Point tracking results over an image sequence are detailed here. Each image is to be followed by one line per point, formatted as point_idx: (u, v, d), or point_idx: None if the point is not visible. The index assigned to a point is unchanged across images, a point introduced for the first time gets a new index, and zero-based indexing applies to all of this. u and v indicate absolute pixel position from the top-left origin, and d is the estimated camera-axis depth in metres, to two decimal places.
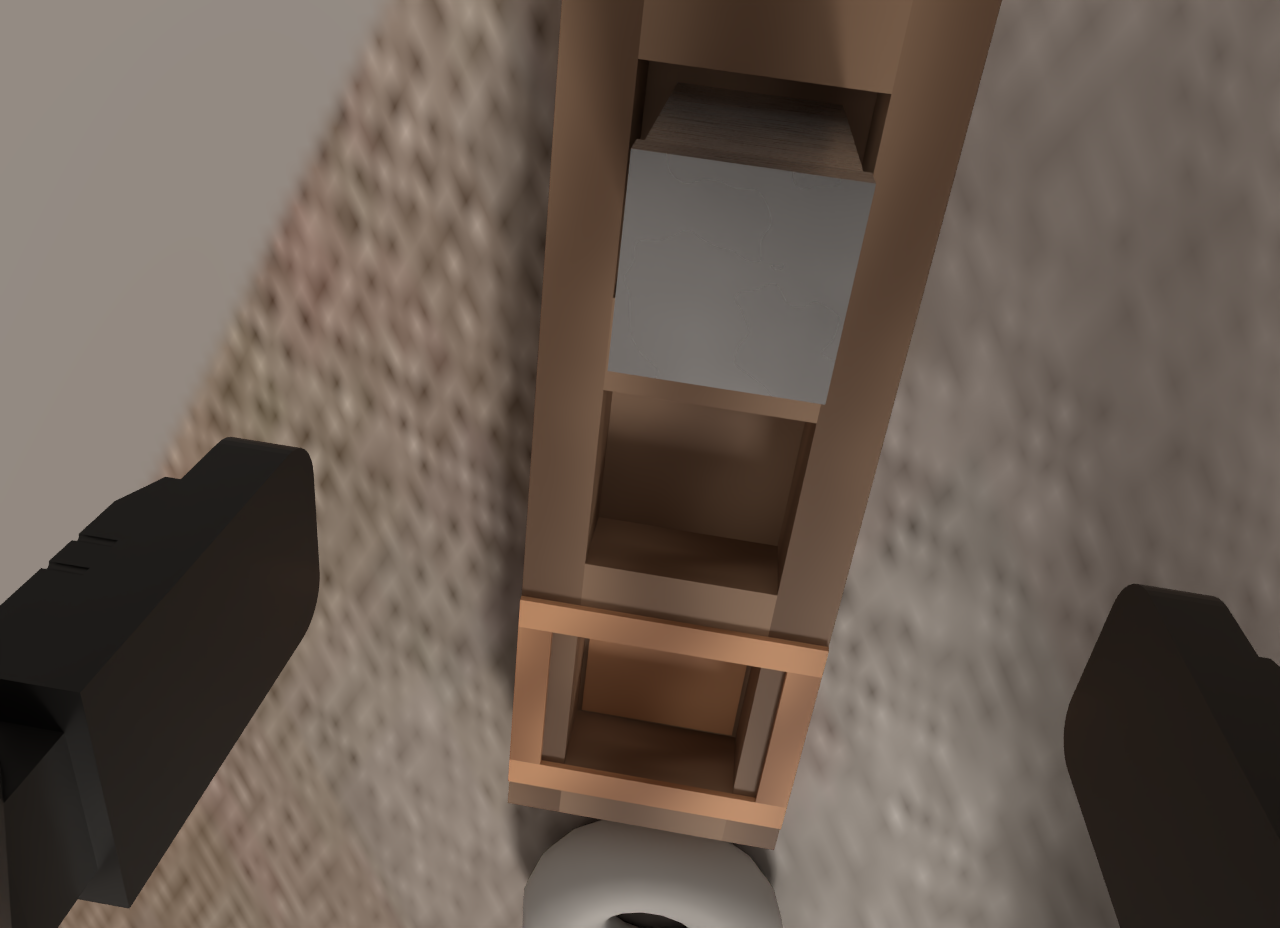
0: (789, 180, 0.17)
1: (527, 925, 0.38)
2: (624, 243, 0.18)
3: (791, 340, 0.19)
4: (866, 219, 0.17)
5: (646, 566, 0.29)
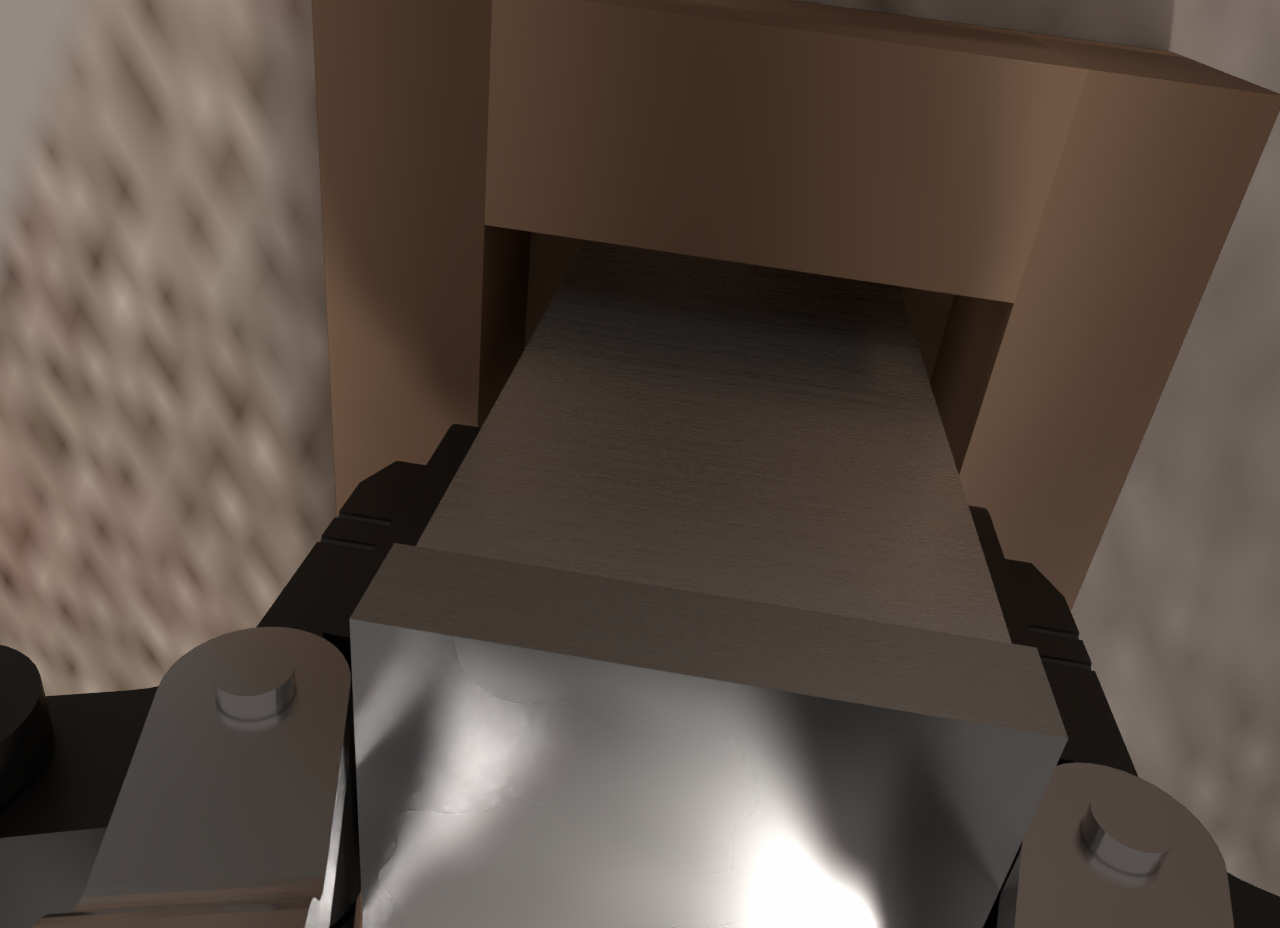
0: (811, 716, 0.06)
1: None
2: (367, 811, 0.07)
3: None
4: (1031, 813, 0.06)
5: None
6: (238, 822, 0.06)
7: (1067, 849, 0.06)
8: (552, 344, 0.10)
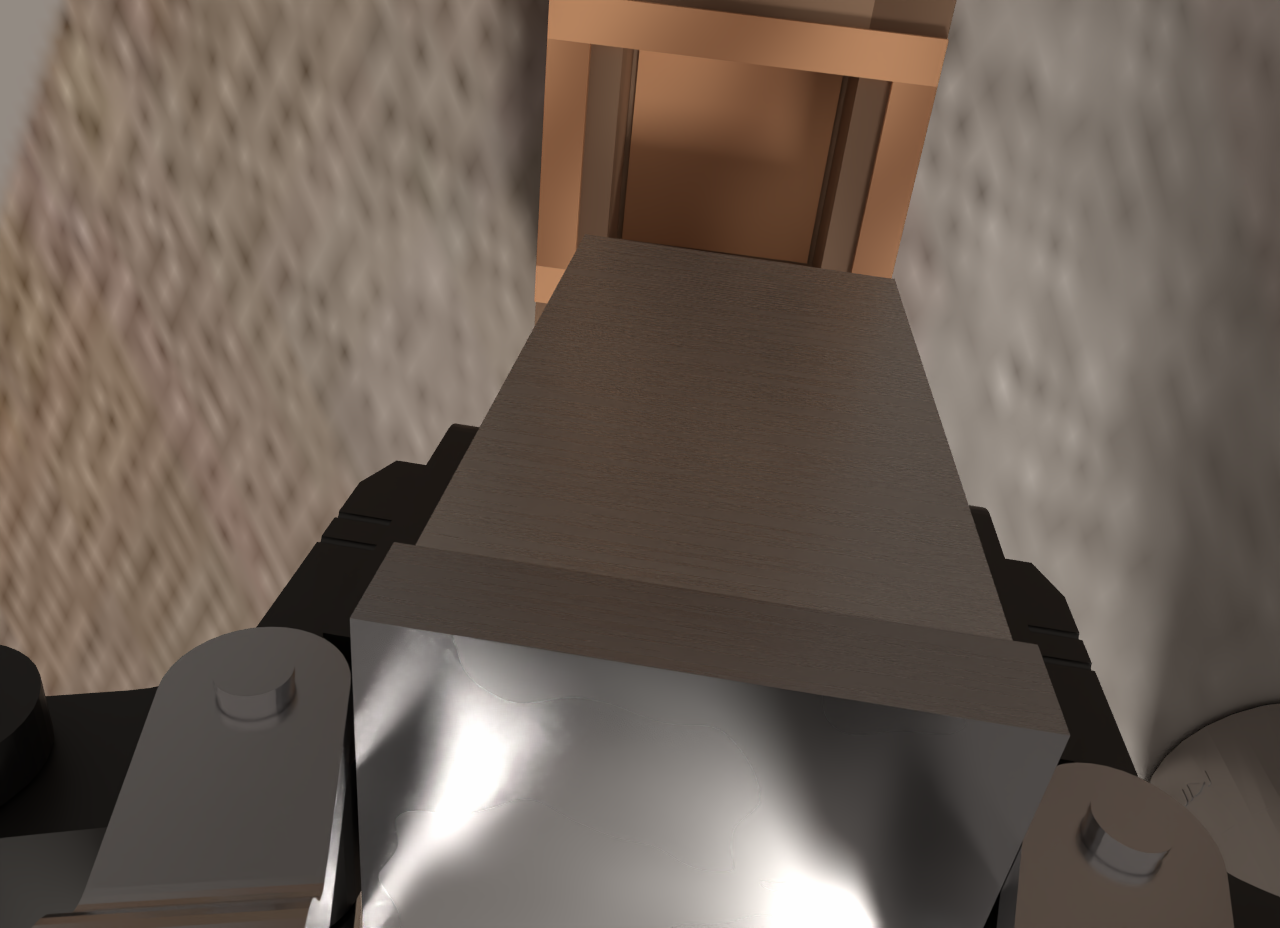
0: (813, 714, 0.06)
1: None
2: (367, 812, 0.07)
3: None
4: (1033, 810, 0.06)
5: None
6: (239, 821, 0.06)
7: (1066, 849, 0.06)
8: (550, 343, 0.10)
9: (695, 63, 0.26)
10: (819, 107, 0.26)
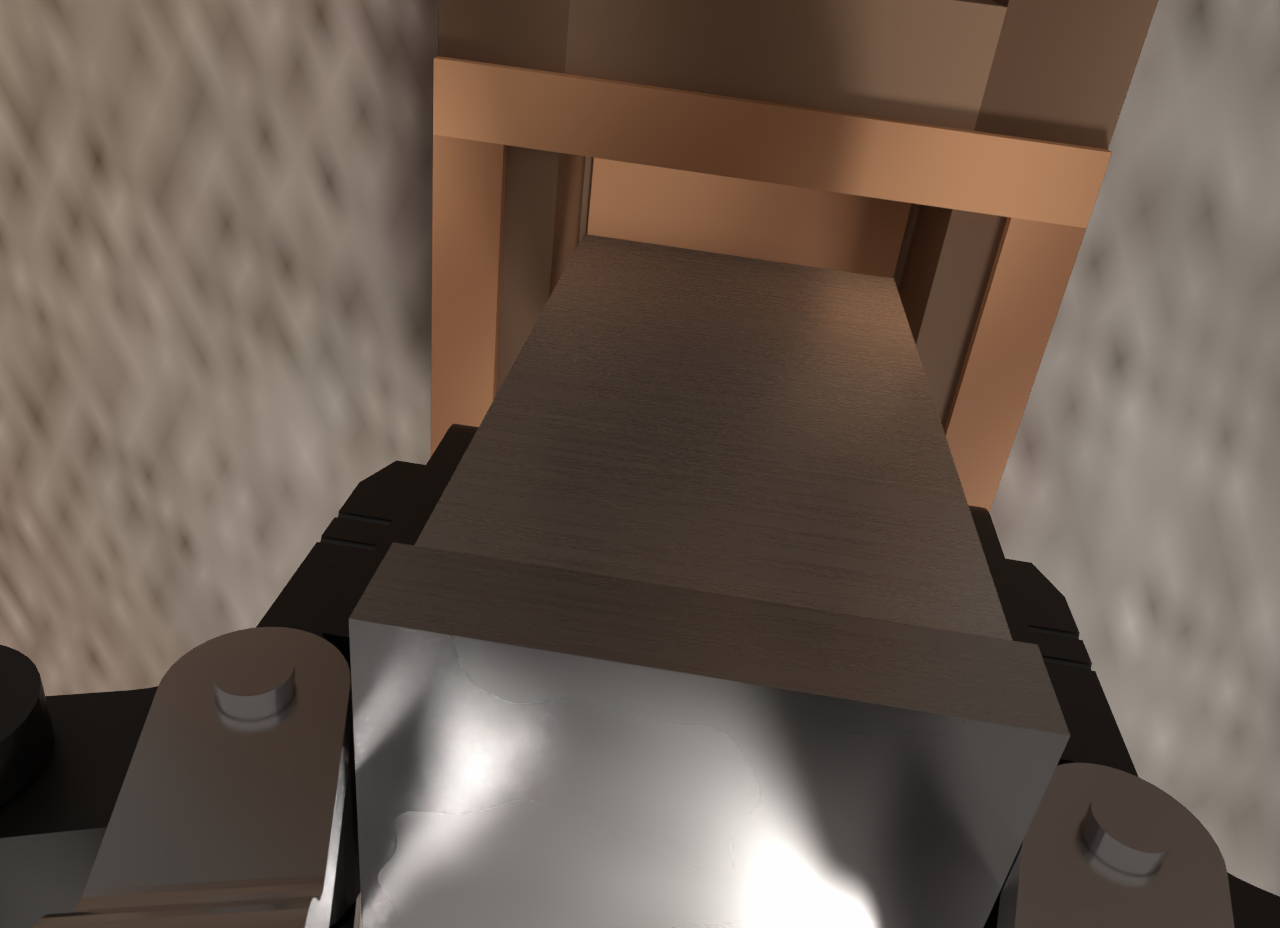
0: (812, 713, 0.06)
1: None
2: (367, 813, 0.07)
3: None
4: (1033, 810, 0.06)
5: None
6: (239, 822, 0.06)
7: (1067, 849, 0.06)
8: (549, 343, 0.10)
9: None
10: (876, 235, 0.17)
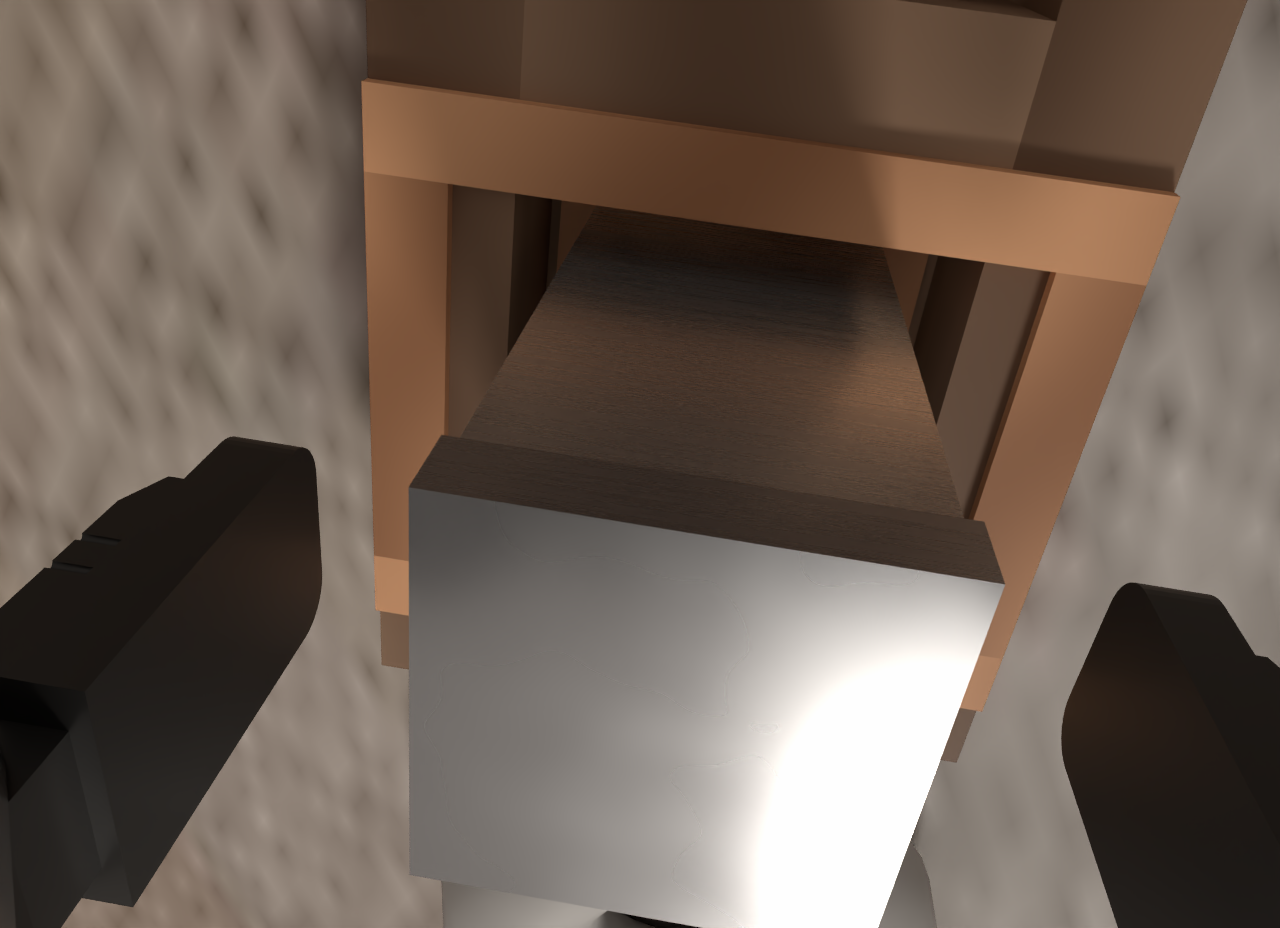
0: (794, 568, 0.07)
1: (448, 927, 0.20)
2: (416, 665, 0.08)
3: (797, 847, 0.09)
4: (977, 652, 0.07)
5: None
6: None
7: None
8: (569, 289, 0.11)
9: None
10: None
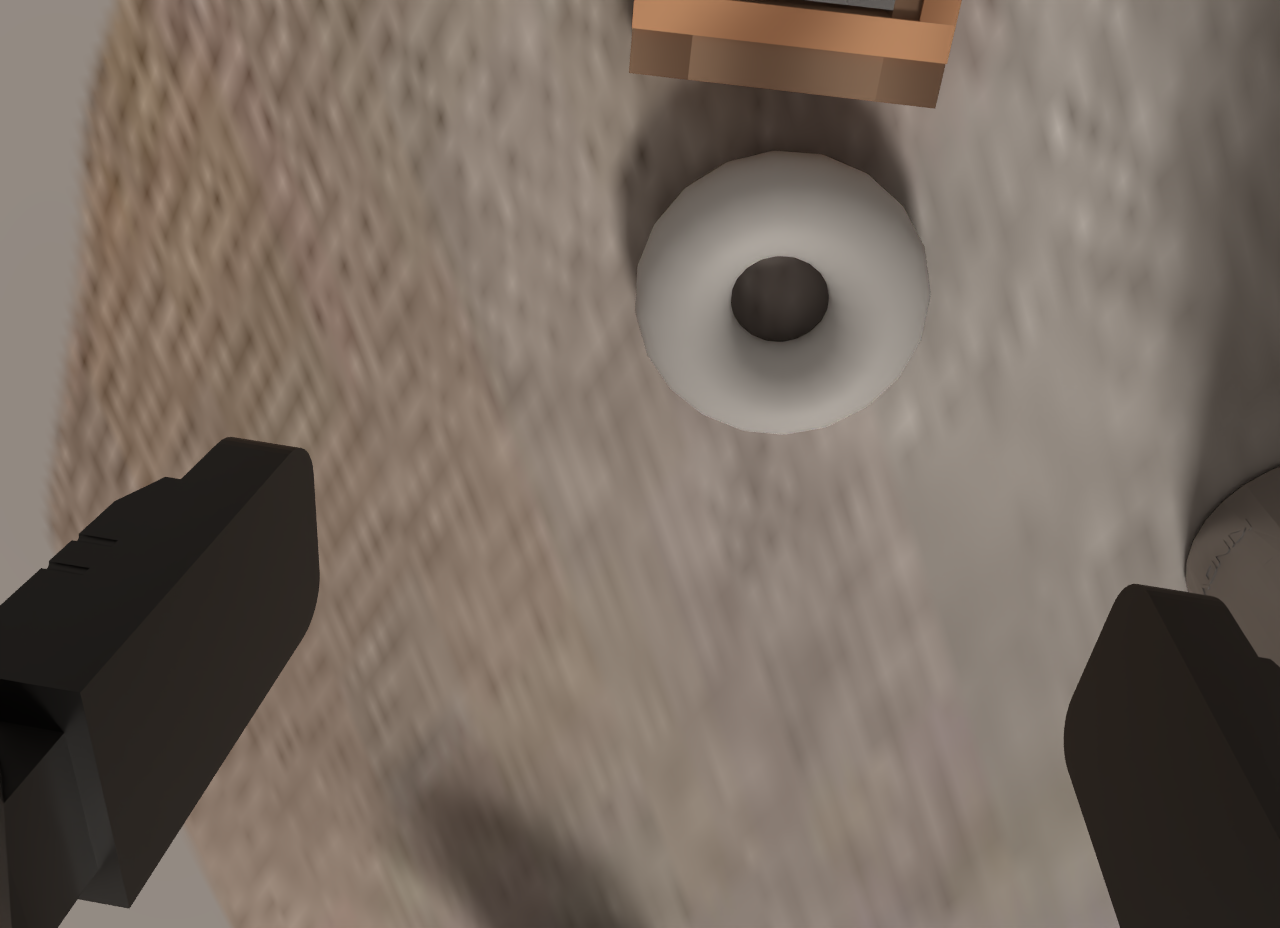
0: None
1: (643, 296, 0.34)
2: None
3: None
4: None
5: None
6: None
7: None
8: None
9: None
10: None
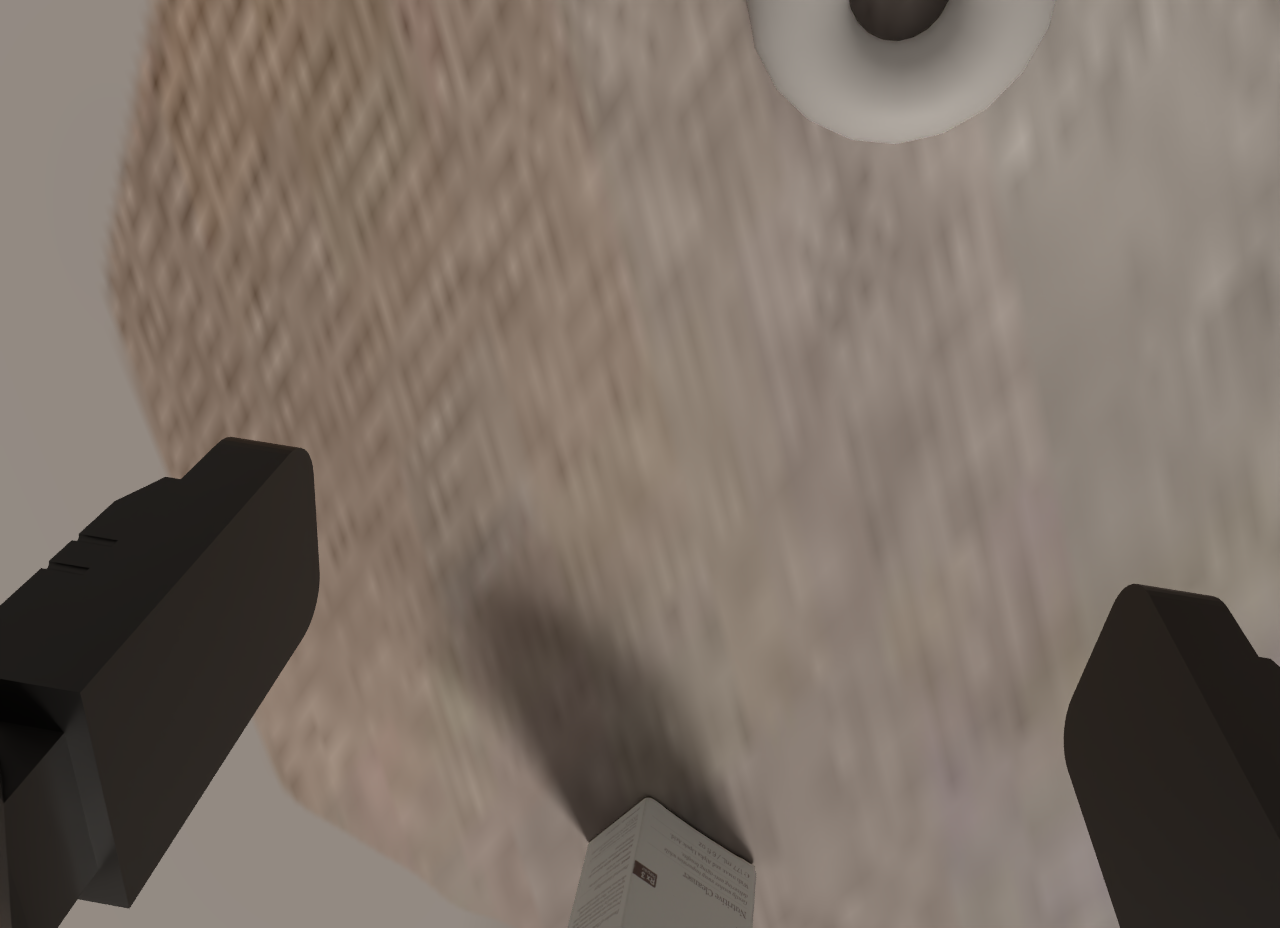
0: None
1: None
2: None
3: None
4: None
5: None
6: None
7: None
8: None
9: None
10: None
